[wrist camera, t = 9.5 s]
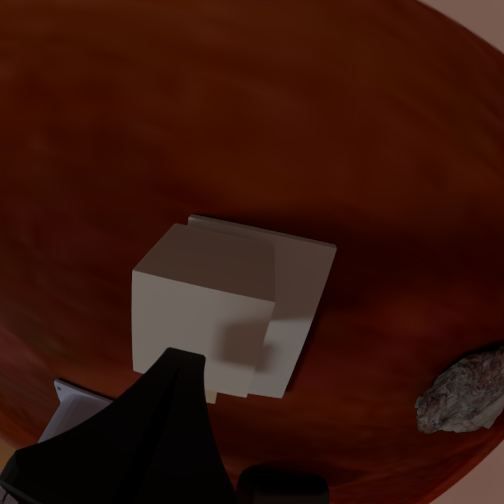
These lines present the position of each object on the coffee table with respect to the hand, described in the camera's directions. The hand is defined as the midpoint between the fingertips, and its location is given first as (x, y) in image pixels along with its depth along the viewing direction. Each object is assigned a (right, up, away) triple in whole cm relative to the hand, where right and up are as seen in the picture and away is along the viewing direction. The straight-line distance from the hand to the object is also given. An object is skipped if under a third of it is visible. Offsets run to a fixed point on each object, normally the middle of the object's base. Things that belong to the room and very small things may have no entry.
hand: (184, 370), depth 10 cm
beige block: (0, +3, +7) cm, 7 cm away
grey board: (+2, 0, +9) cm, 9 cm away
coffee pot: (+4, -25, +19) cm, 32 cm away
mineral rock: (+23, -7, +11) cm, 26 cm away
